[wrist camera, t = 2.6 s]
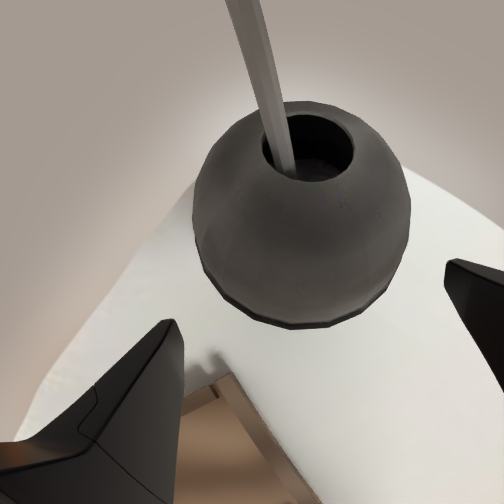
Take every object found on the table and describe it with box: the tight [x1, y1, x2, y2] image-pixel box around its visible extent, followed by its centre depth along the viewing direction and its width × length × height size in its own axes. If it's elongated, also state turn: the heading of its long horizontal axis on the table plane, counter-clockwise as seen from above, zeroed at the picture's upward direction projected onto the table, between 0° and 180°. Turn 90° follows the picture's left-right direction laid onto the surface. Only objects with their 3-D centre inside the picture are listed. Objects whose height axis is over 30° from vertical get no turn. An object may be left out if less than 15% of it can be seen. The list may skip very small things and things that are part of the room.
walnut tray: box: [173, 373, 322, 504], centre depth 16 cm, size 12×12×2 cm
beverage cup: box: [192, 0, 411, 330], centre depth 12 cm, size 7×7×20 cm
